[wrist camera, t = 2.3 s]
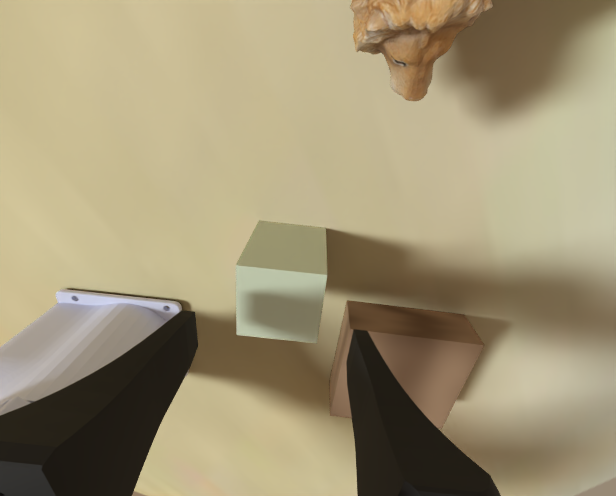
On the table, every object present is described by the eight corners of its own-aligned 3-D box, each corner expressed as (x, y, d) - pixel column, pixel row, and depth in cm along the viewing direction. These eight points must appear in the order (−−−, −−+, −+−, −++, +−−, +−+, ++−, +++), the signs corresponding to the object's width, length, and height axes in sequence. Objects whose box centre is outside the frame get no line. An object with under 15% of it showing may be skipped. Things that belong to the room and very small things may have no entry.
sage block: (257, 277, 22) (236, 334, 17) (259, 220, 20) (235, 265, 15) (318, 283, 22) (316, 343, 17) (325, 227, 20) (327, 275, 15)
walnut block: (329, 378, 27) (330, 415, 24) (346, 297, 23) (350, 329, 20) (427, 390, 27) (441, 428, 24) (462, 311, 23) (484, 345, 20)
